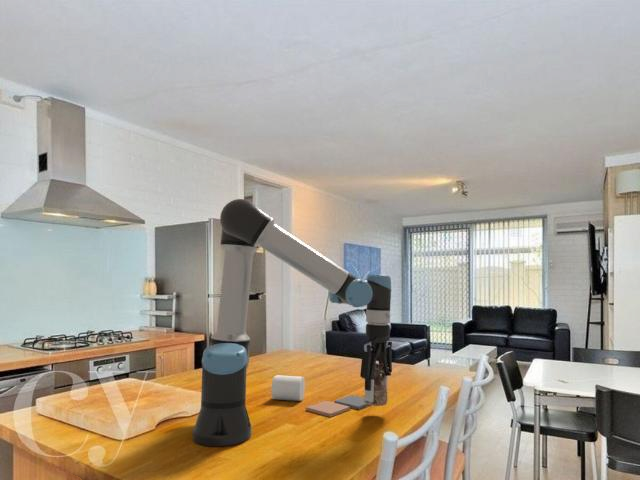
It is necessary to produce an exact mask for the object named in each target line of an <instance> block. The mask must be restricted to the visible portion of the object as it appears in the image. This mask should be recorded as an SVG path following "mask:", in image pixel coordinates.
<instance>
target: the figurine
mask: <svg viewBox="0 0 640 480" xmlns="http://www.w3.org/2000/svg"><path fill="white" fill-rule="evenodd" d="M383 366H384V364H383V363H381V364H380V365H379V363H377V362H376V364H375V369H374V373H373V378H372V379H373V380H374V400H373V402H369V401H365V395H364V397H363V398H364V403H366V404H368V405H370V406H374V407H381V406H386V404H388V403H387V402H388V387H387V388H386V384H385V381H384V378H385V372H384V370H383V369H382V367H383ZM381 373H382V374H381ZM380 375H382V376H381V377H380Z"/></svg>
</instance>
